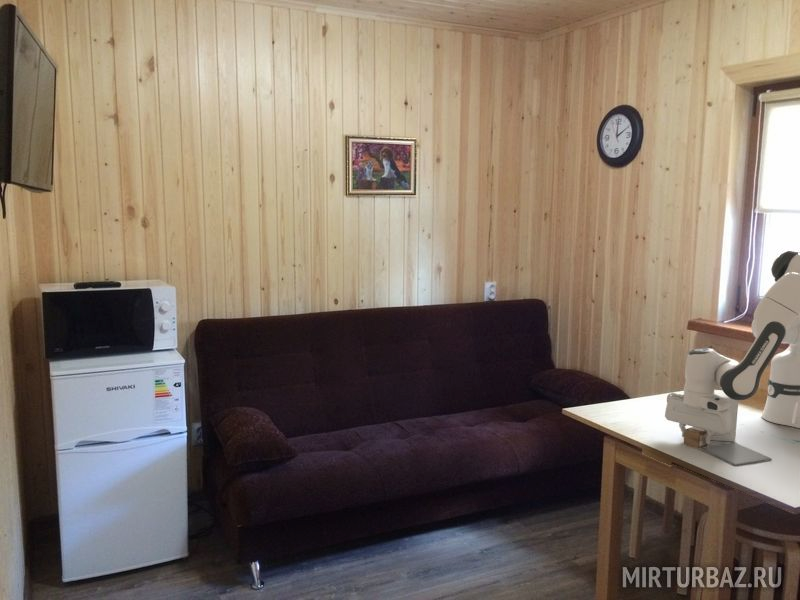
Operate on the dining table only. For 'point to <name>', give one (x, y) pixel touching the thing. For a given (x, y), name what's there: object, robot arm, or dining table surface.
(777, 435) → the dining table surface
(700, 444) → the letter cube
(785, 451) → the dining table surface
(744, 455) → the coaster
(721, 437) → the supplement box
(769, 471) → the dining table surface
